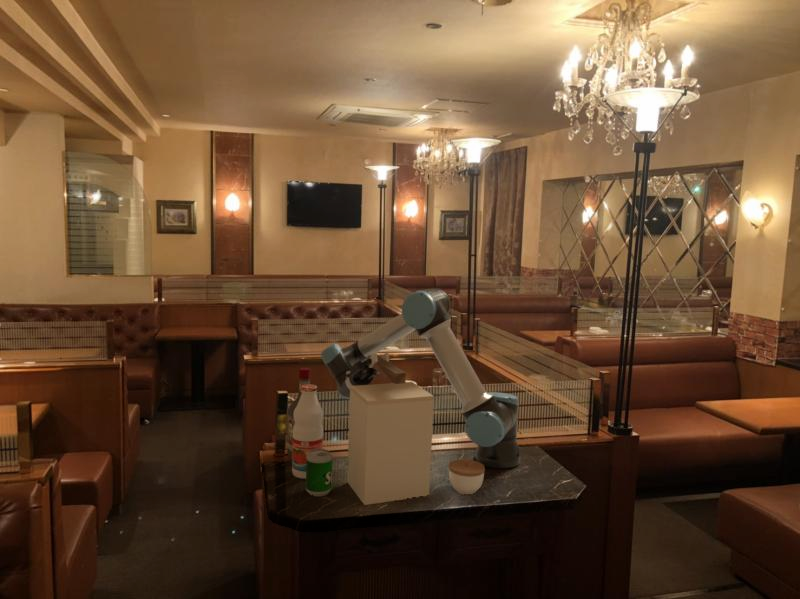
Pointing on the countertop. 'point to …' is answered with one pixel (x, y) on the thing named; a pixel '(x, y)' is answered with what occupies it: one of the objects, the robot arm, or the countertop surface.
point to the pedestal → (389, 441)
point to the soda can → (319, 472)
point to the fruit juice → (306, 429)
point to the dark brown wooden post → (389, 371)
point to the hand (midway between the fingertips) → (381, 357)
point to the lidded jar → (466, 475)
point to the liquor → (303, 380)
